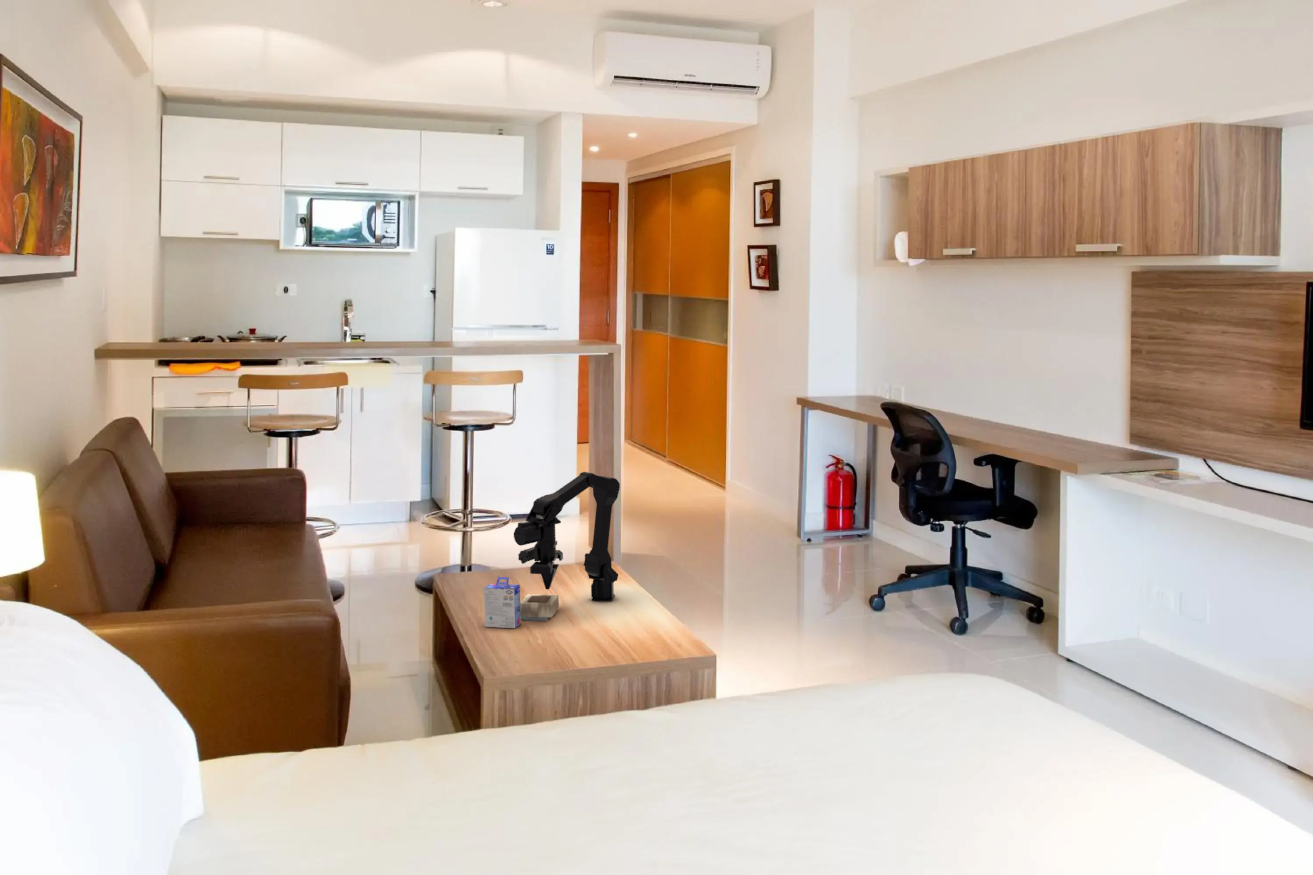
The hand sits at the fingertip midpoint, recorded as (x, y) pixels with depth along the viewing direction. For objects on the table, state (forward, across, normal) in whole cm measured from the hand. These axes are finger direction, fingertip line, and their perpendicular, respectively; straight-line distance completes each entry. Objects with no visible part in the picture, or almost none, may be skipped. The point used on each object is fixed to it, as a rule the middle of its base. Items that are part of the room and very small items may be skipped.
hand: (547, 588), depth 358 cm
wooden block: (+5, 0, +2) cm, 6 cm away
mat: (+8, 0, -4) cm, 9 cm away
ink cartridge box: (+8, +12, -11) cm, 18 cm away
